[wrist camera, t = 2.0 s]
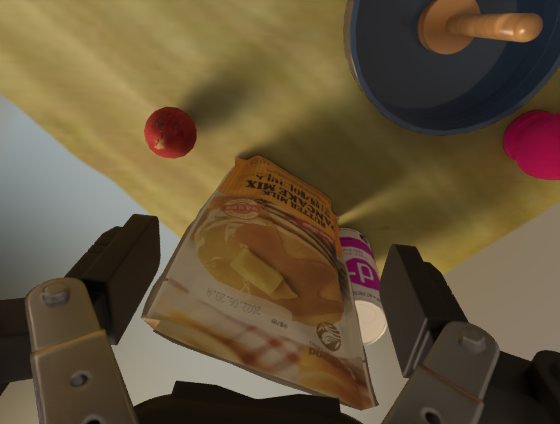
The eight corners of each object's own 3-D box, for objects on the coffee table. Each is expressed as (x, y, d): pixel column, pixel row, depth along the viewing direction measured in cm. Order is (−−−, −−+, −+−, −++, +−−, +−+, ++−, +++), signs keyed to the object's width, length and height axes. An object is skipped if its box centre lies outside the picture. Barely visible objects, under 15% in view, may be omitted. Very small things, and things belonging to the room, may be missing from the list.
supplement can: (323, 218, 52) (332, 287, 39) (378, 234, 53) (405, 307, 40) (305, 263, 56) (307, 341, 42) (356, 278, 57) (375, 358, 43)
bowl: (363, -112, 35) (375, -135, 30) (584, -89, 36) (634, -108, 30) (329, 112, 45) (334, 125, 40) (502, 130, 45) (530, 144, 40)
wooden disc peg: (424, -9, 39) (508, -26, 23) (478, -4, 39) (596, -17, 23) (411, 49, 41) (477, 68, 26) (461, 55, 41) (557, 76, 26)
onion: (154, 99, 45) (128, 115, 38) (201, 103, 45) (184, 118, 38) (159, 146, 48) (135, 168, 41) (203, 148, 48) (187, 171, 41)
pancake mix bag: (327, 244, 54) (353, 437, 29) (211, 177, 50) (125, 335, 25) (356, 209, 51) (411, 390, 26) (235, 135, 47) (166, 267, 22)
